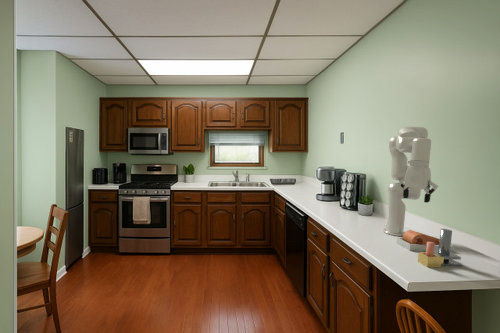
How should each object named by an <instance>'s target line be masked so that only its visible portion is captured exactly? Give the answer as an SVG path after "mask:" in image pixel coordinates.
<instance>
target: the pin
mask: <svg viewBox="0 0 500 333" xmlns="http://www.w3.org/2000/svg"><path fill="white" fill-rule="evenodd" d="M434 247H435V243H433V242H427V246H426V251H425V252H426V255H427V256H431V257H434Z"/></svg>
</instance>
